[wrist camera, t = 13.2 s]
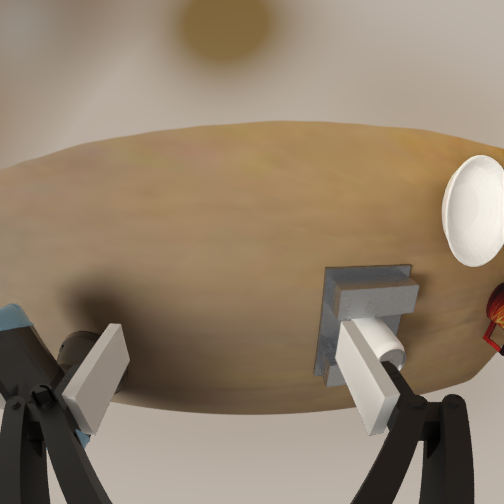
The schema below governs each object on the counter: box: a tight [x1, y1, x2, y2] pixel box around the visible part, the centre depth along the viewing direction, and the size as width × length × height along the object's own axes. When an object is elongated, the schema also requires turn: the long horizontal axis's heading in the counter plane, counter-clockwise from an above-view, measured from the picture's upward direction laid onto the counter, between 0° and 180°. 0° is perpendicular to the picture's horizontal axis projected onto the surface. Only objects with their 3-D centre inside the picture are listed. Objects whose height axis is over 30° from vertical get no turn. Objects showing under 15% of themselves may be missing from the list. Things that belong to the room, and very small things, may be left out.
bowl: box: [442, 155, 504, 267], centre depth 41 cm, size 20×20×6 cm
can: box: [351, 317, 406, 371], centre depth 43 cm, size 6×6×12 cm
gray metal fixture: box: [313, 264, 419, 387], centre depth 47 cm, size 16×22×6 cm
